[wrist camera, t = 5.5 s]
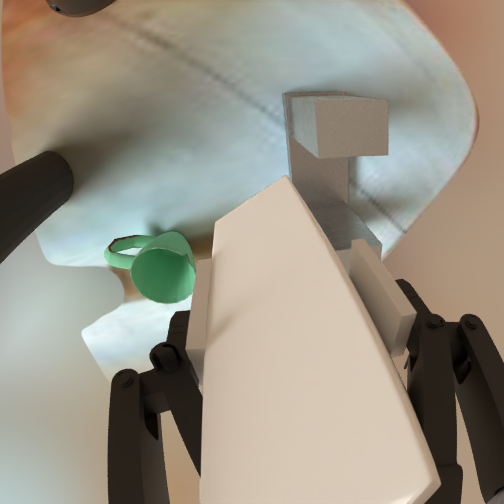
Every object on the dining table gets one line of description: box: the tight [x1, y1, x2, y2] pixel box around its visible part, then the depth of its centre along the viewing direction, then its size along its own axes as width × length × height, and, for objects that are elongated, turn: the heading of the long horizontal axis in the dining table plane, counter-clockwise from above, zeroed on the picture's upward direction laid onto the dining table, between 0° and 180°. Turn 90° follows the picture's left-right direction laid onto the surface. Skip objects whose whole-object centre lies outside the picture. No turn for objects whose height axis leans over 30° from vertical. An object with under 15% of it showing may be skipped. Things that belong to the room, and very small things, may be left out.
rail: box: [282, 92, 388, 275], centre depth 39 cm, size 24×9×16 cm, turn 6°
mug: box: [104, 231, 196, 304], centre depth 46 cm, size 15×10×10 cm
